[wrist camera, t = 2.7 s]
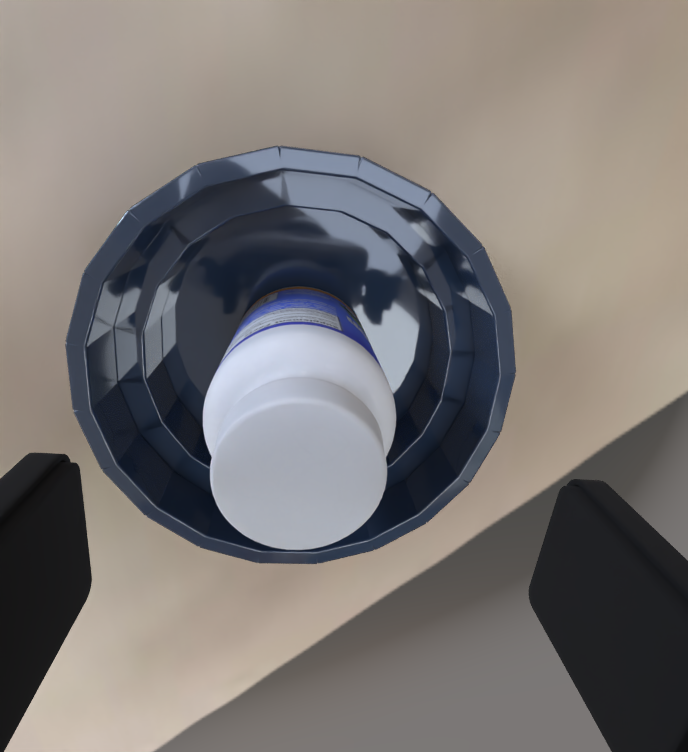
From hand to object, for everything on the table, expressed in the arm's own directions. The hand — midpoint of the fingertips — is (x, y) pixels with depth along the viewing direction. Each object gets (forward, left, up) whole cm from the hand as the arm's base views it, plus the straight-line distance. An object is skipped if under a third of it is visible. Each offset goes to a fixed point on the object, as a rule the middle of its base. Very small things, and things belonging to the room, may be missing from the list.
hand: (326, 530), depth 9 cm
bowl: (0, 0, -12) cm, 12 cm away
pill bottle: (0, 0, -11) cm, 11 cm away
